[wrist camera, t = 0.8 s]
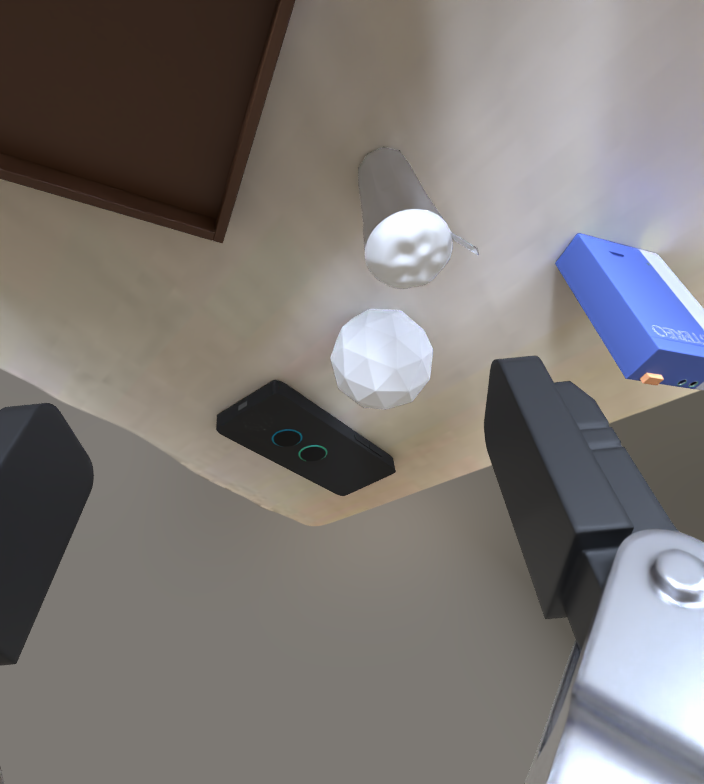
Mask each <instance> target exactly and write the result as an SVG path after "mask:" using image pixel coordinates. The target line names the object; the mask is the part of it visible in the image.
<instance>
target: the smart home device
mask: <svg viewBox="0 0 704 784" xmlns="http://www.w3.org/2000/svg"><path fill="white" fill-rule="evenodd" d="M216 430H217V431H218V432H219V433H220V434H221V435H223V436H225V437H227V438H229V439H231V440H233V441H235V442H236V443H238V444H240V445H242V446H244V447H246V448H248V449H250V450H252V451H254V452H256V453H258V454H260V455H262V456H264V457H265V458H267V459H269V460H271V461H273V462H275V463H277V464H279V465H281V466H283V467H285V468H287V469H289V470H291V471H293V472H294V473H296V474H298V475H300V476H302V477H304V478H306V479H308V480H310V481H312V482H314V483H316V484H318V485H320V486H322V487H324V488H325V489H327V490H329V491H331V492H333V493H335V494H337V495H340V496H346V495H348V494H350V493H352V492H355V491H357V490H359V489H361V488H363V487H365V486H368V485H370V484H372V483H374V482H376V481H378V480H381V479H383V478H385V477H387V476H389V475H392V474H393V473H395V472H396V470H395V466H394V461H393V458H392V457H391V456H390V455H388V454H387V453H386V452H384V451H383V450H381V449H380V448H378V447H377V446H375V445H374V444H372V443H371V442H370V441H368V440H367V439H365V438H364V437H362V436H361V435H359V434H358V433H356V432H355V431H353V430H352V429H351V428H349V427H348V426H346V425H345V424H343V423H342V422H340V421H339V420H337V419H336V418H334V417H333V416H332V415H330V414H329V413H327V412H326V411H324V410H323V409H321V408H320V407H318V406H317V405H315V404H314V403H313V402H311V401H310V400H308V399H307V398H305V397H304V396H302V395H301V394H299V393H298V392H296V391H295V390H294V389H292V388H291V387H289V386H288V385H286V384H285V383H283V382H280V381H277V380H274V381H272V382H270V383H268V384H267V385H265V386H264V387H262V388H260V389H259V390H257V391H256V392H254V393H252V394H251V395H249V396H247V397H246V398H244V399H243V400H241V401H239V402H238V403H236V404H234V405H233V406H231V407H230V408H228V409H226V410H225V411H223V412H222V413H220V414H218V415H217V427H216Z"/></svg>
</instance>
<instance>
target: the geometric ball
mask: <svg viewBox="0 0 704 784" xmlns="http://www.w3.org/2000/svg"><path fill="white" fill-rule="evenodd" d="M432 356H433V348H432V346H431V344H430V342H429V339H428V337H427V335H426V333H425V331H424V330H423V329H422V328H421V327H420V326H419V325H418V324H416V323H415V322H414V321H413V320H412V319H411V318H409V317H408V316H407V315H406V314H405V313H404V312H403V311H401V310H386V309H368V310H366V311H364V312H363V313H361V314H359V315H357V316H356V317H354V318H352V319H351V320H350V321H349V322H348V323H346V324H345V325H344V326H343V327H342V328H341V331H340V333H339V335H338V338H337V340H336V343H335V346H334V349H333V352H332V355H331V357H330V359H331V363H332V367H333V370H334V374H335V378H336V381H337V385H338V389H339V390H341V391H342V392H343V393H345V394H346V395H347V396H348V397H350V398H351V399H352V400H354V401H355V402H356V403H358V404H359V405H360V406H362V407H363V408H374V409H384V410H386V409H390V408H394V407H397V406H401V405H404V404H407V403H411V402H412V401H413V400H414V399H415V398H416V396H417V395H418V394H419V393H420V391H421V390H422V389H423V387H424V386H425V385H426V384H427V382H428V381H429V380H430V374H431V365H432Z"/></svg>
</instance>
